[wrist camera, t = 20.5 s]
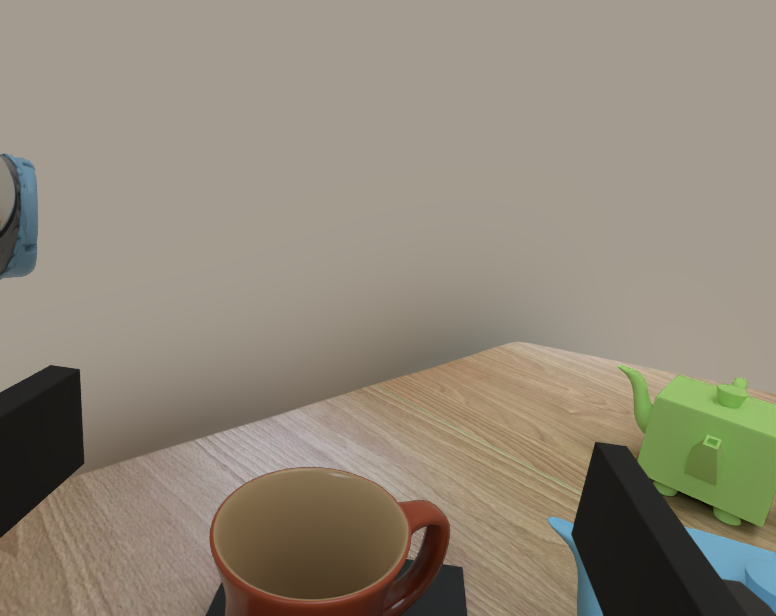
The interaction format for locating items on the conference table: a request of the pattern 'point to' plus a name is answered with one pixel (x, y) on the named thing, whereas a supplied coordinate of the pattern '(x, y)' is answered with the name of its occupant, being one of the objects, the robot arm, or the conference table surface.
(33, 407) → the robot arm
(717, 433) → the kettle
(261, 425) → the conference table surface
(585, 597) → the teapot
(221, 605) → the front mat
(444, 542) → the mug
